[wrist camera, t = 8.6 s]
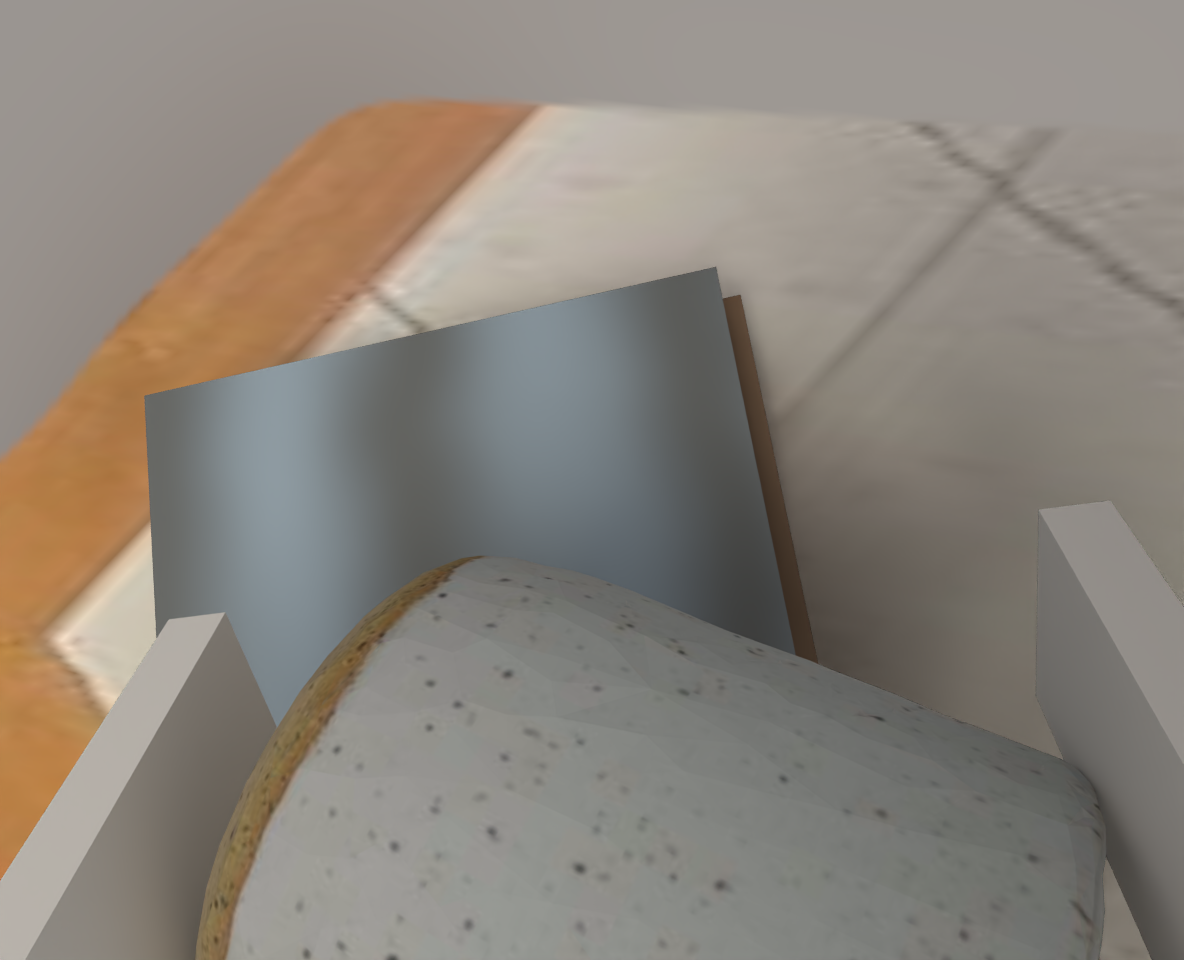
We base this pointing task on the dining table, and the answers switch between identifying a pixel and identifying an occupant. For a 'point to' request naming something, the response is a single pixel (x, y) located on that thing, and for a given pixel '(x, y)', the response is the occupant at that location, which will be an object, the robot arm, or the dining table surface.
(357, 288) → the dining table surface
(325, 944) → the ceramic mug
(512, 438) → the grey and brown block
